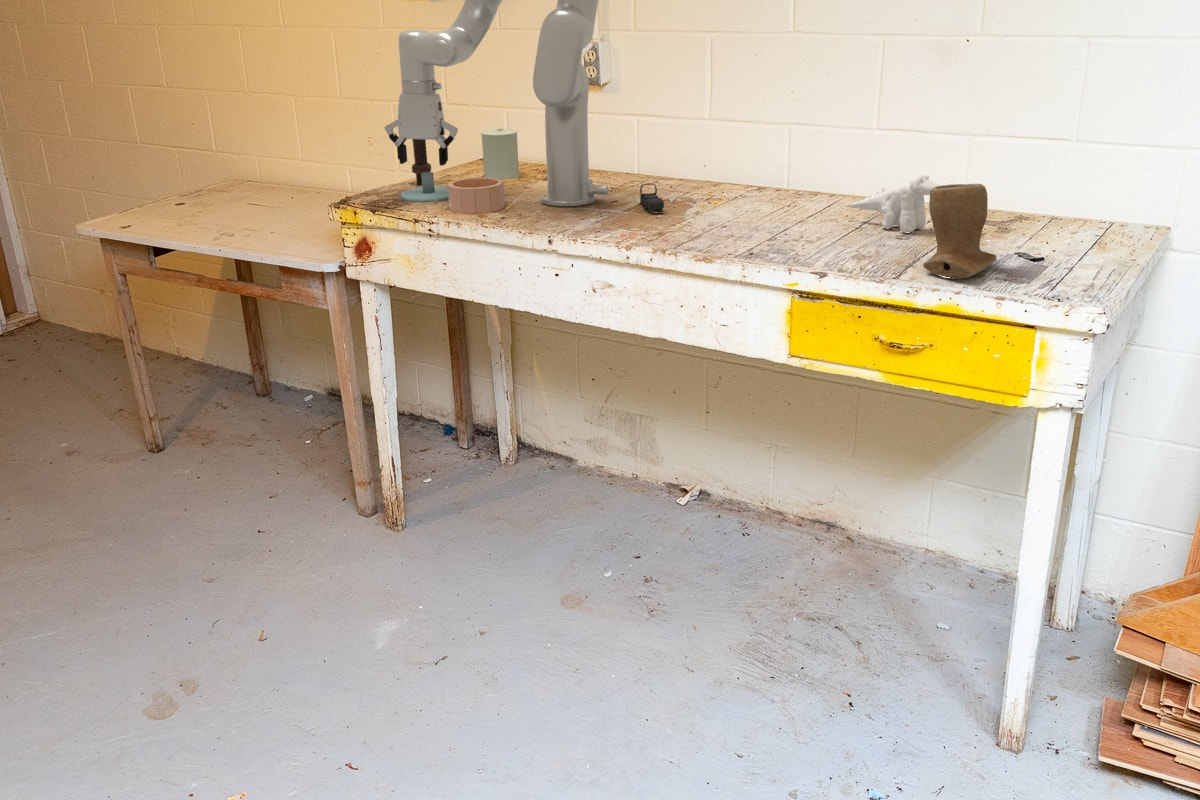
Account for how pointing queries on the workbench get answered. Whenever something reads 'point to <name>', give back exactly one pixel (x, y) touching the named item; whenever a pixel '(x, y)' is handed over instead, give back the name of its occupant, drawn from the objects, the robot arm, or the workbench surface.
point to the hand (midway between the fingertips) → (423, 163)
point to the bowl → (476, 195)
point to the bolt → (420, 159)
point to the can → (500, 154)
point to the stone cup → (958, 230)
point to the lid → (426, 190)
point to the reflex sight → (651, 201)
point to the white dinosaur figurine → (900, 204)
